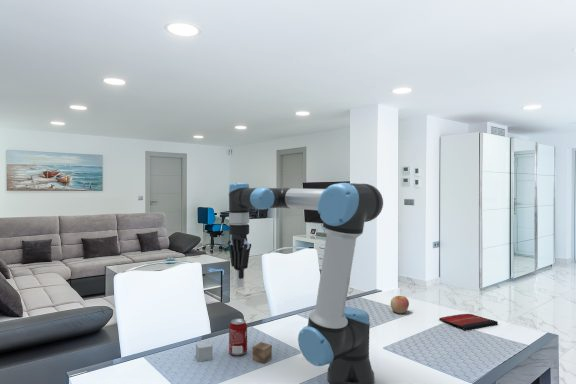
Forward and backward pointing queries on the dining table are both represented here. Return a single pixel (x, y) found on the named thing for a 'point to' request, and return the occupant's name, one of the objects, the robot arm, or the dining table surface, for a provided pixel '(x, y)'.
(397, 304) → the apple
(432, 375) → the dining table surface
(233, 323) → the soda can
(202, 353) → the grey cube
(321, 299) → the robot arm
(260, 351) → the walnut cube
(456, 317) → the binder
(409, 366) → the dining table surface
